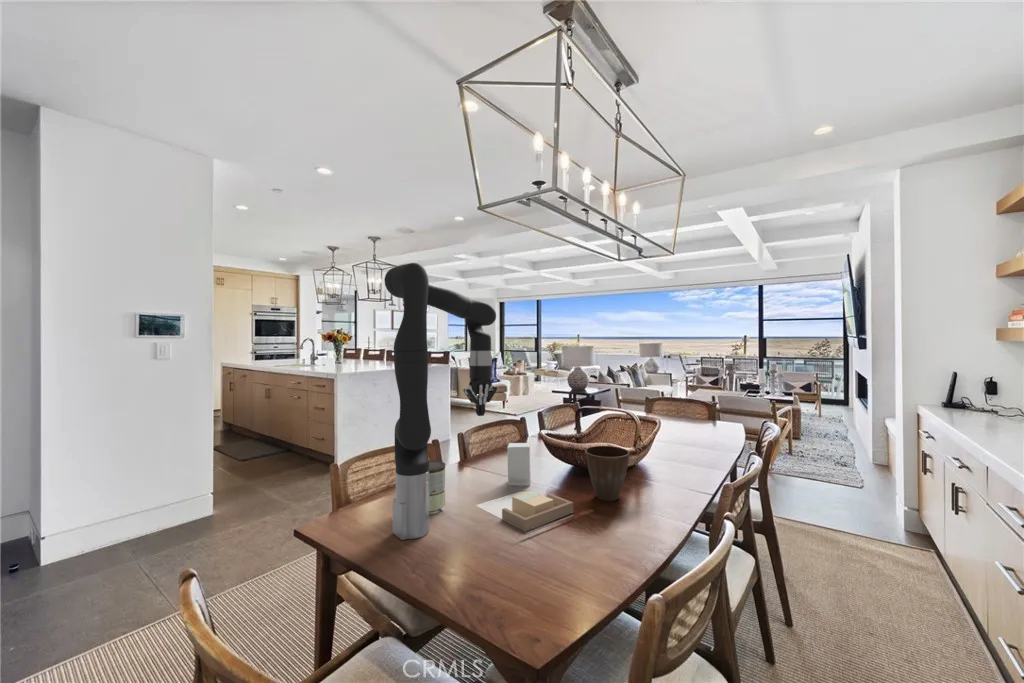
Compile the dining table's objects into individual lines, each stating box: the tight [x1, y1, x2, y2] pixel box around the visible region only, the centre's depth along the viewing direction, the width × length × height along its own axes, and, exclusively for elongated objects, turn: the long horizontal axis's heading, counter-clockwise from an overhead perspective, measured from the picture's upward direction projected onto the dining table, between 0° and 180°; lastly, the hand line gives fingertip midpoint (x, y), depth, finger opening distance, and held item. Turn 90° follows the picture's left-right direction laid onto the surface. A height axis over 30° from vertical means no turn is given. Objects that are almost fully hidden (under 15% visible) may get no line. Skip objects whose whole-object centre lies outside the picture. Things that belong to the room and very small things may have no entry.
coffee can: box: [429, 460, 446, 516], centre depth 134 cm, size 10×10×14 cm
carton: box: [512, 490, 553, 518], centre depth 128 cm, size 8×10×5 cm
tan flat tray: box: [475, 491, 574, 536], centre depth 131 cm, size 20×24×4 cm
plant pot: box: [584, 445, 630, 502], centre depth 144 cm, size 15×15×16 cm
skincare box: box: [506, 442, 532, 487], centre depth 155 cm, size 8×7×16 cm
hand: (480, 415), depth 140 cm, fingers closed
